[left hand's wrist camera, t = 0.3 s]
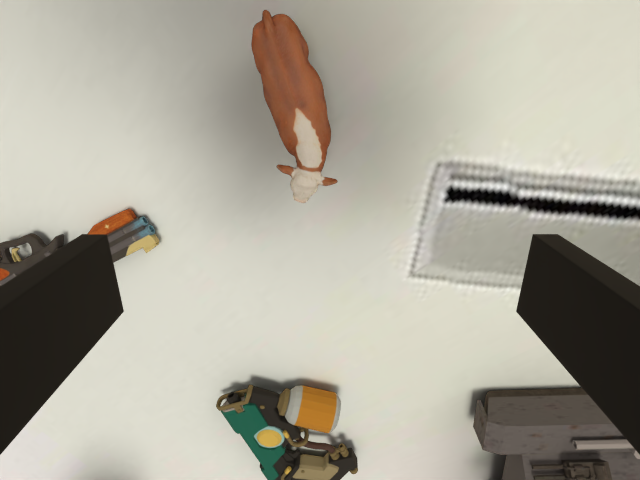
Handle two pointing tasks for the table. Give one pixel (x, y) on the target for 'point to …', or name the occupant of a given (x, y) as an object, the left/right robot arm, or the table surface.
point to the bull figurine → (293, 100)
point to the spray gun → (289, 431)
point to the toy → (553, 436)
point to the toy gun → (120, 229)
